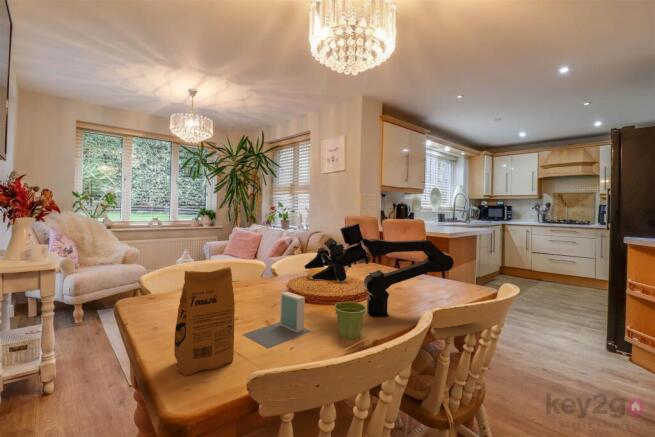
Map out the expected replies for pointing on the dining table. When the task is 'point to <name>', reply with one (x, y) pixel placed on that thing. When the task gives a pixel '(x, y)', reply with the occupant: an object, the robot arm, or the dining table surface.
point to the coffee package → (205, 321)
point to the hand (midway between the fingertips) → (308, 272)
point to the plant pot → (350, 319)
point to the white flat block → (292, 311)
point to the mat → (273, 335)
